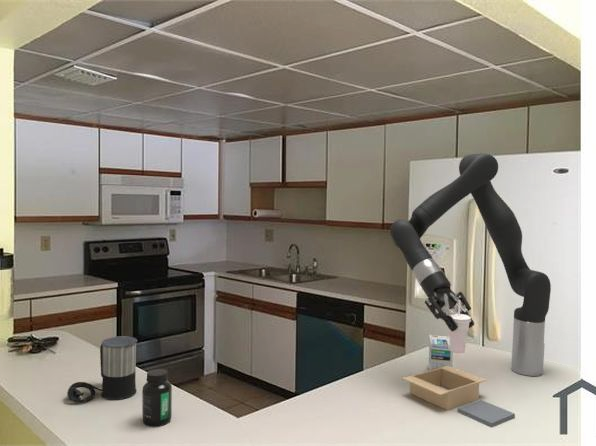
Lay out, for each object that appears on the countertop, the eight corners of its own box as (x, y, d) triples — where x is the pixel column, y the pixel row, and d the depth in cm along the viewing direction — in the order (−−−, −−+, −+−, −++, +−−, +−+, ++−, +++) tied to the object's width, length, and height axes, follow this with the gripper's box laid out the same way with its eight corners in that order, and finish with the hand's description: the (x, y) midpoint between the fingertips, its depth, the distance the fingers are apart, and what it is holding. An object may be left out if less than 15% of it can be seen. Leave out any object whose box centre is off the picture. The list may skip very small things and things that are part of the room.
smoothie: (469, 348, 136) (471, 299, 135) (469, 356, 130) (471, 304, 129) (445, 346, 138) (447, 297, 137) (444, 353, 132) (446, 302, 131)
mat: (480, 403, 134) (480, 399, 134) (514, 417, 126) (514, 413, 126) (457, 411, 128) (457, 407, 128) (491, 427, 120) (491, 423, 120)
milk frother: (144, 391, 136) (144, 339, 136) (98, 413, 122) (98, 355, 122) (107, 381, 143) (107, 331, 142) (59, 401, 129) (59, 346, 128)
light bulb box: (452, 380, 151) (453, 345, 150) (429, 377, 152) (431, 343, 152) (448, 368, 161) (450, 335, 161) (427, 366, 163) (428, 334, 162)
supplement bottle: (172, 425, 117) (172, 376, 116) (141, 428, 115) (142, 378, 114) (171, 413, 123) (171, 366, 123) (142, 416, 121) (142, 368, 121)
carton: (447, 381, 149) (447, 365, 149) (485, 397, 138) (486, 379, 138) (401, 395, 138) (402, 377, 138) (439, 413, 127) (440, 394, 127)
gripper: (421, 272, 135) (454, 324, 126) (455, 268, 143) (489, 317, 134) (406, 287, 140) (437, 339, 131) (440, 283, 148) (471, 331, 139)
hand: (463, 327), depth 132 cm, fingers closed on smoothie, 6 cm apart
